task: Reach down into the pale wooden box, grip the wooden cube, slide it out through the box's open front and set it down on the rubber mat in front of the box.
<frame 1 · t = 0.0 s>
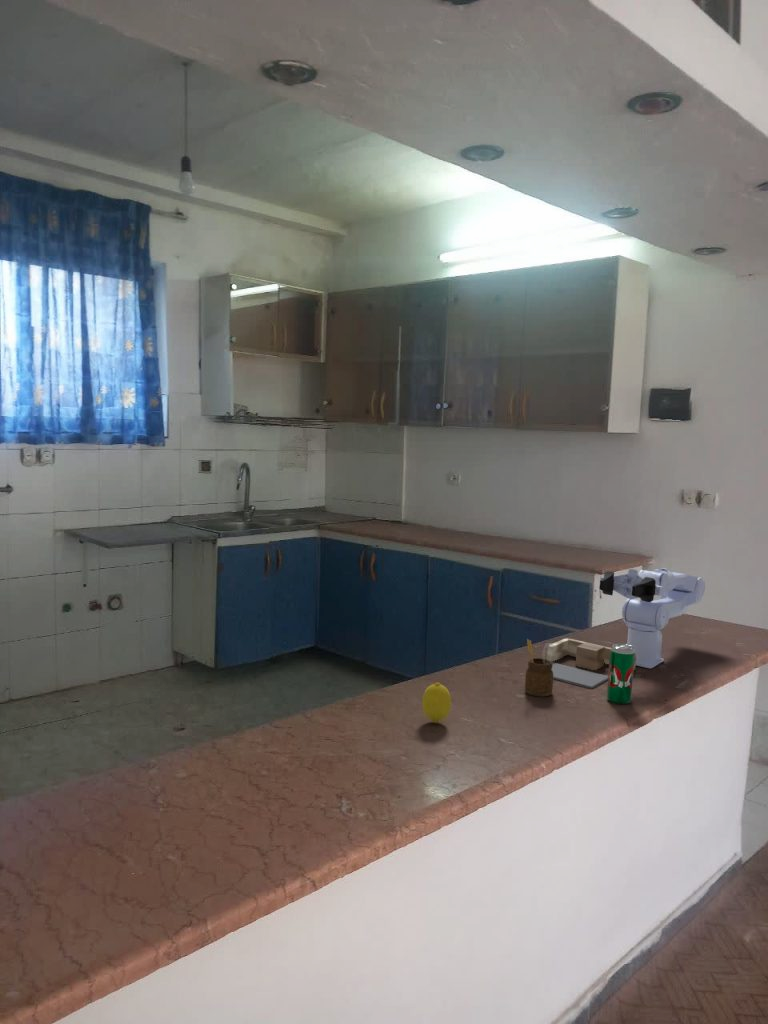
hand: (617, 587, 177), 22 cm above the worktop, tool horizontal, fingers open, 7 cm apart
utensil holder: (537, 693, 169), on the worktop
rubber mat: (570, 675, 182), on the worktop
wooden cube: (590, 656, 189), in the open box
lemon: (435, 723, 150), on the worktop
soda can: (618, 701, 166), on the worktop
open box: (589, 666, 190), on the worktop
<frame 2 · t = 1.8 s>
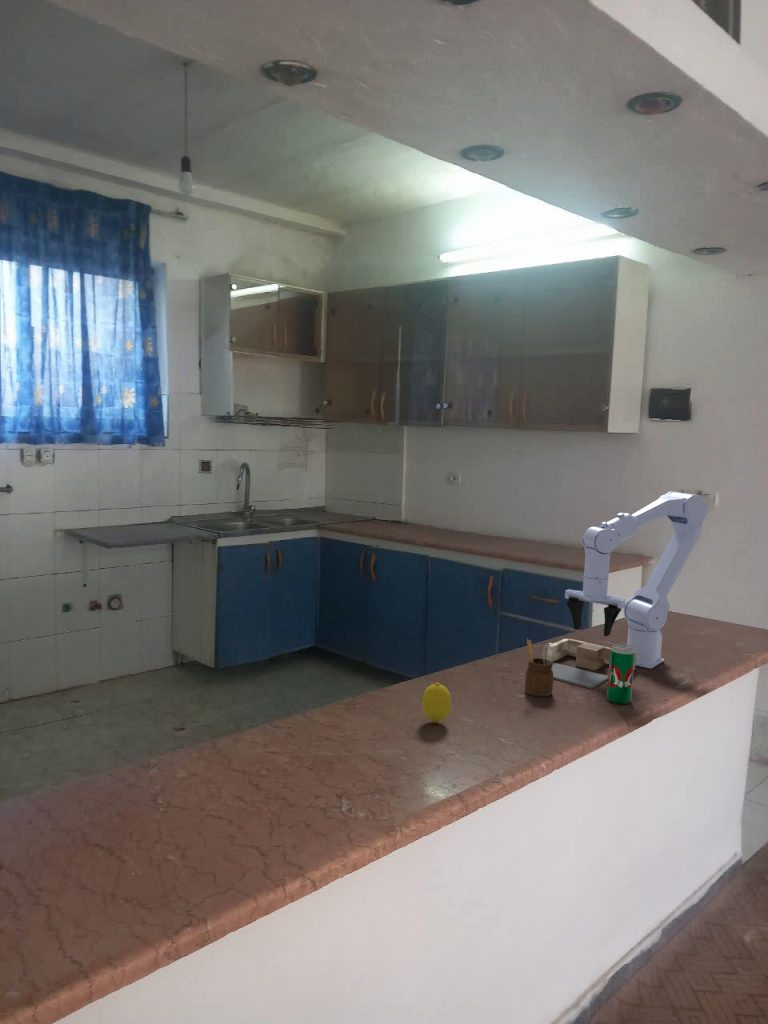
hand: (591, 632, 189), 9 cm above the worktop, tool pointing down, fingers open, 7 cm apart
nothing on the worktop moved.
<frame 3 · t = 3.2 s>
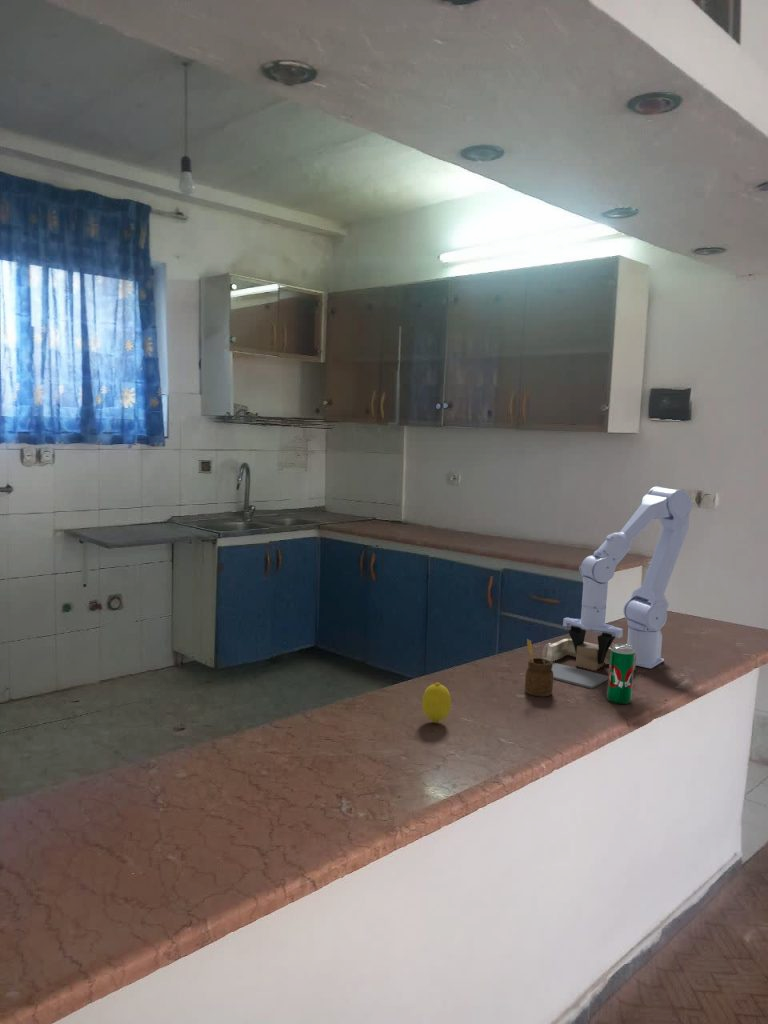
hand: (589, 660, 190), 1 cm above the worktop, tool pointing down, fingers closed on wooden cube, 5 cm apart
wooden cube: (590, 656, 189), in the open box, touching gripper
everything else where it was.
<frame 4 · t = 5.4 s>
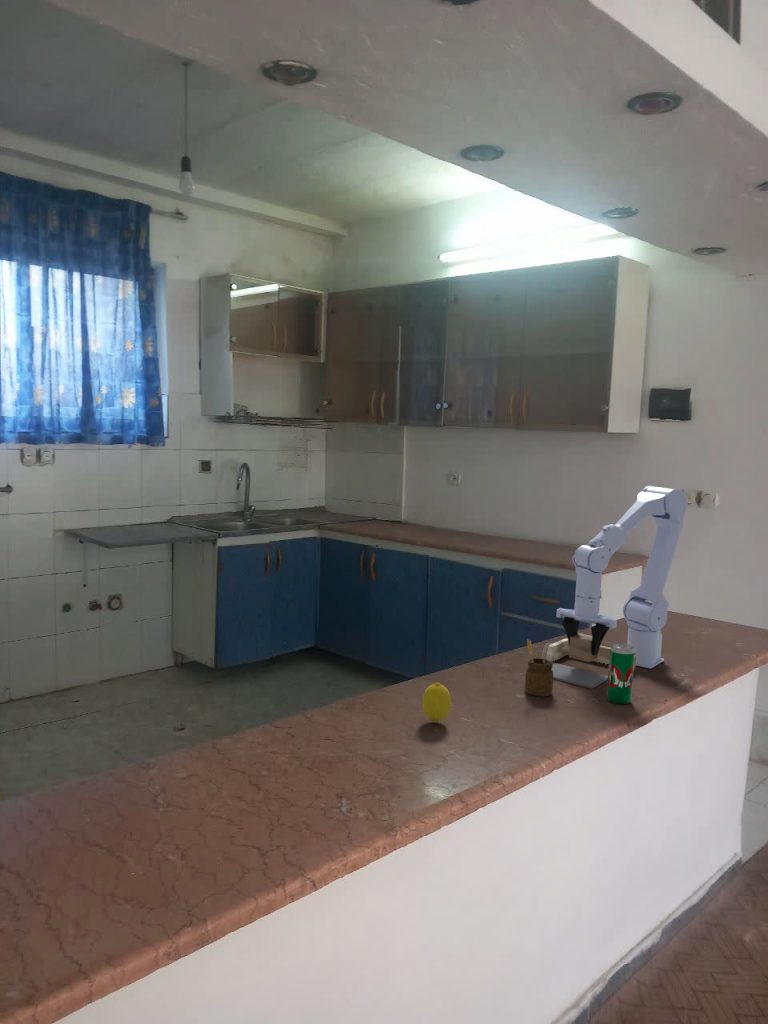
hand: (583, 651, 186), 4 cm above the worktop, tool pointing down, fingers closed on wooden cube, 5 cm apart
wooden cube: (583, 647, 186), point 6 cm above the worktop, touching gripper
everything else where it was.
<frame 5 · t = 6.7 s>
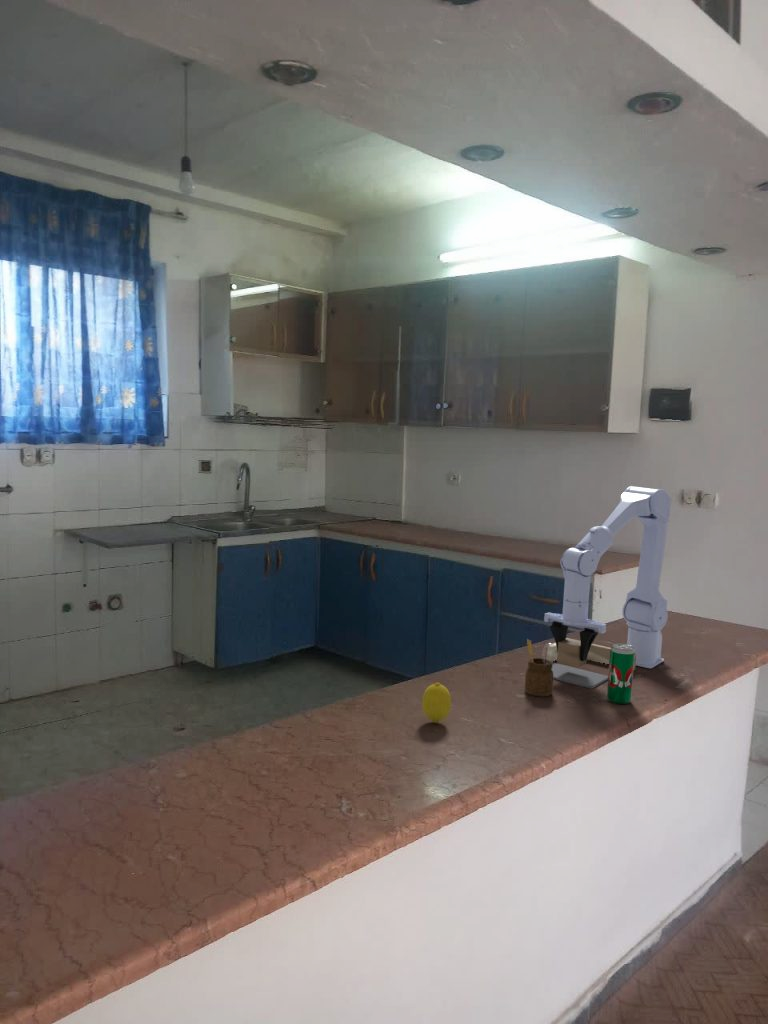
hand: (572, 657, 181), 4 cm above the worktop, tool pointing down, fingers closed on wooden cube, 5 cm apart
wooden cube: (572, 652, 181), point 6 cm above the worktop, touching gripper
everything else where it was.
when the fingers open (3 cm above the worktop, at t = 7.7 s): wooden cube stays where it is, resting on rubber mat.
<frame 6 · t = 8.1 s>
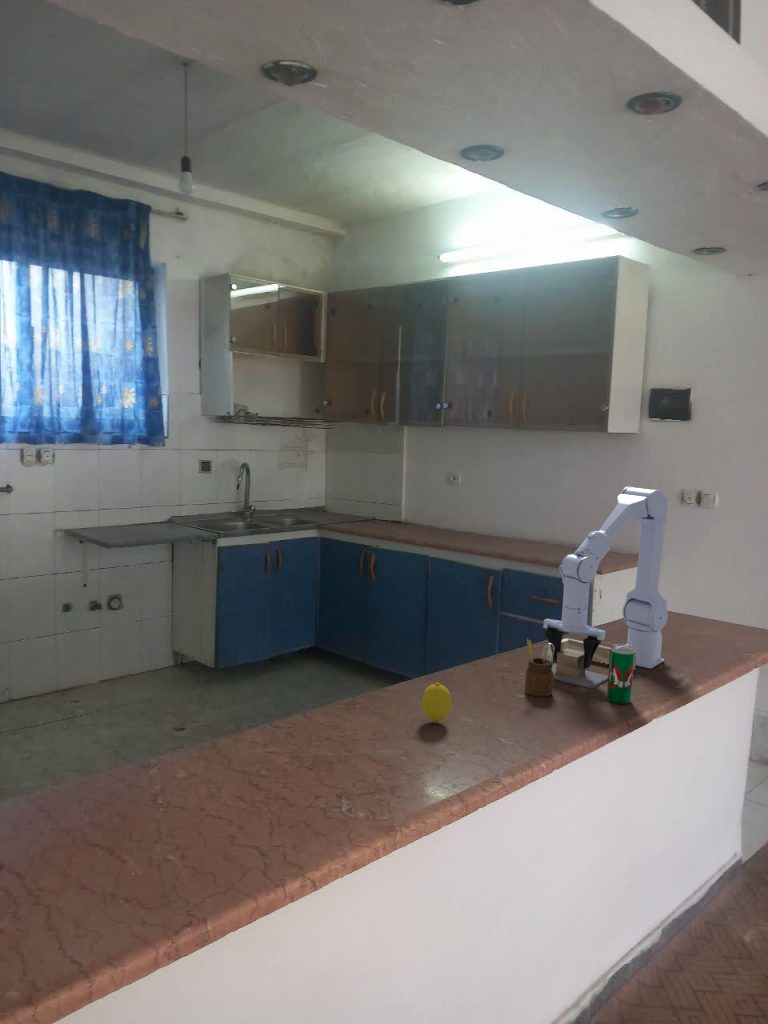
hand: (571, 663, 181), 3 cm above the worktop, tool pointing down, fingers open, 7 cm apart
wooden cube: (571, 663, 181), on the rubber mat
everything else where it was.
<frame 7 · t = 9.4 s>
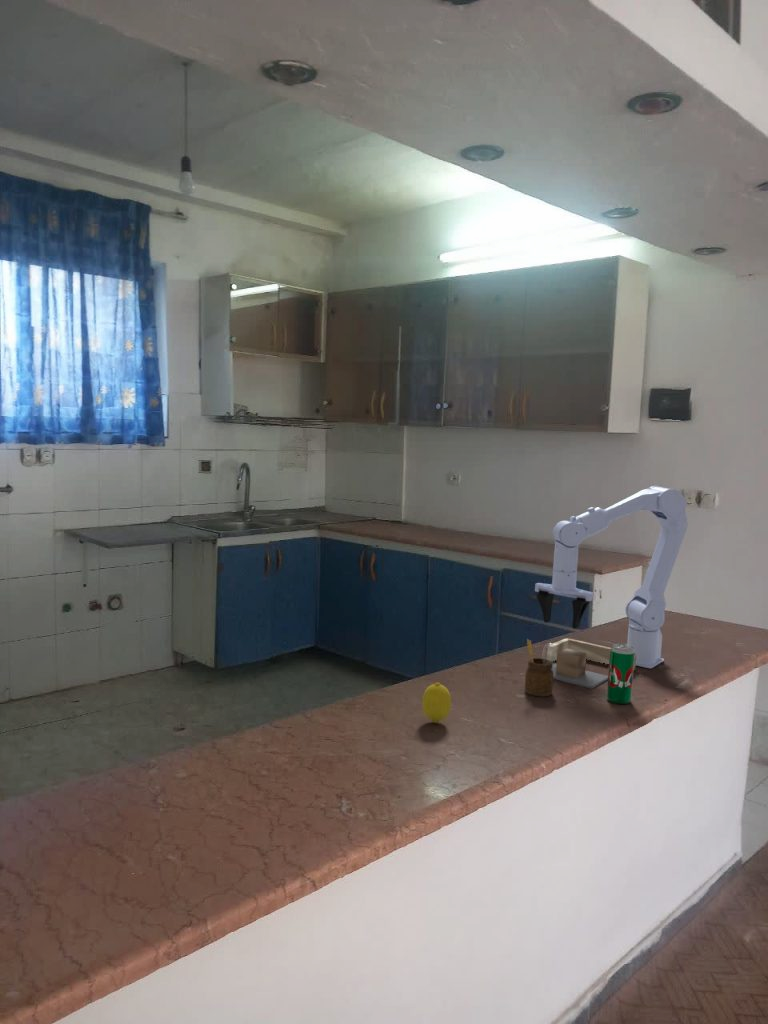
hand: (561, 624, 191), 9 cm above the worktop, tool pointing down, fingers open, 7 cm apart
nothing on the worktop moved.
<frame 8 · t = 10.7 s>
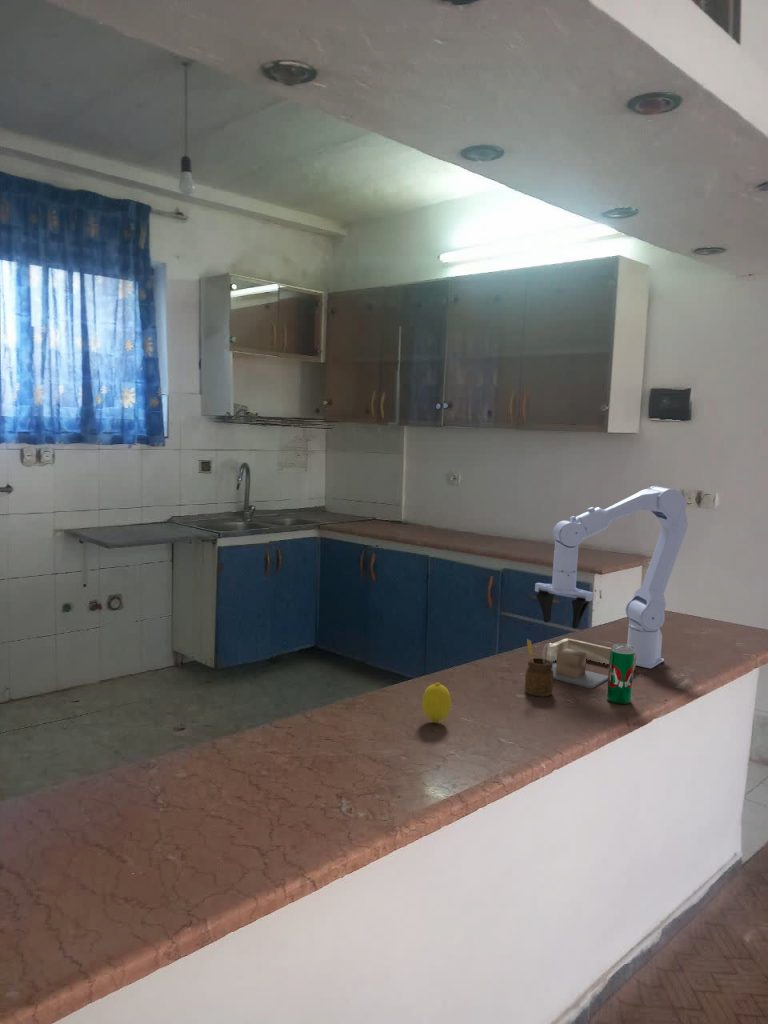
hand: (561, 624, 191), 9 cm above the worktop, tool pointing down, fingers open, 7 cm apart
nothing on the worktop moved.
at the end: wooden cube inside the target area (0.0 cm from its centre), point 3.0 cm above the worktop; wooden cube tilted 0°; the gripper is holding nothing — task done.
